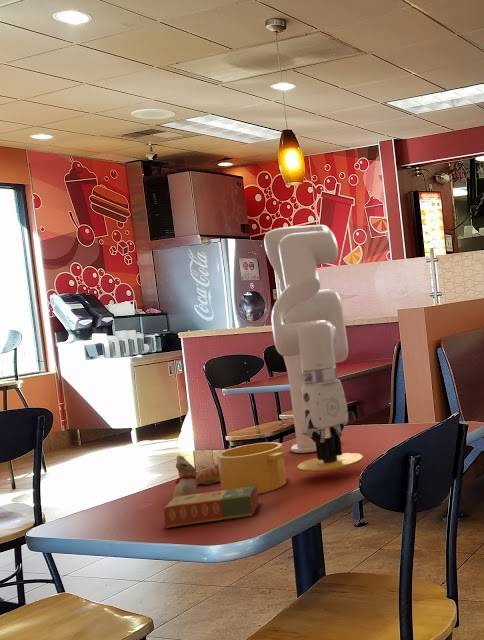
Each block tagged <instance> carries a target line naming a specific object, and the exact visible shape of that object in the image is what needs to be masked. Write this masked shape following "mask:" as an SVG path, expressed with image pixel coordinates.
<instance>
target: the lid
mask: <svg viewBox="0 0 484 640" xmlns="http://www.w3.org/2000/svg"><path fill="white" fill-rule="evenodd" d="M325 442H327V443H328V450H329V459H328V460H318V458H317V457H313V458H310V459H307V460H304V461H302V462H300V463H299V464H298V465H297V470H298V471H300V472H307V473H326V472H333V471H337V470H342V469H345V468H349V467H352V466H353V465H357V464H359V463H360V462H362V461H363V460H364V456H363V454H361V453H357V452H342V455H337V451H336V443H335V436H334V435H329V436H325Z"/></svg>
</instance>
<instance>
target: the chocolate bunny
mask: <svg viewBox="0 0 484 640" xmlns="http://www.w3.org/2000/svg"><path fill="white" fill-rule="evenodd" d="M175 468H176V469H177V472H178V474H177V475H178V477H179V478H177V479H176V481H175V486H174V489H173V493H172V499H173V498H175V497H179V496H186V495H193V494H198V493H197V487H198V483H197V482H196V477H197V475H198V474H197V469H196V468H195V467H194V465H193V464H191V463H190V462H189V461H188V460H187V459H186V458H185V456H183V455H181V454H180V455H179V454H178V455H177V456H176V463H175Z"/></svg>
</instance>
